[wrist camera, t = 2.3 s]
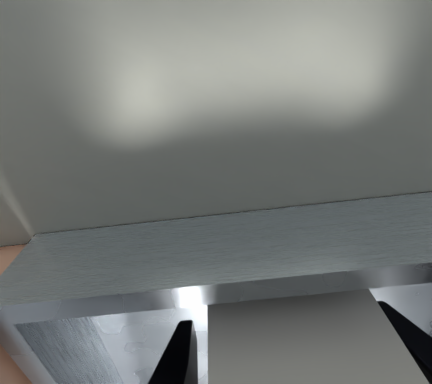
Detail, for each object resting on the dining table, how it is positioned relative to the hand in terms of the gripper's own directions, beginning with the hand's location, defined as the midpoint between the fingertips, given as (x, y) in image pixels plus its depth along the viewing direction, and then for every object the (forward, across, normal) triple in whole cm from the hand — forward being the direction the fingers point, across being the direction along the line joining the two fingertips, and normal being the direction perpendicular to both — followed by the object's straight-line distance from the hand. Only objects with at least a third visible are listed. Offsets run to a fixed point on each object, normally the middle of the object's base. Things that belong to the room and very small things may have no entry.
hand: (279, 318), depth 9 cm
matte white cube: (+1, 0, 0) cm, 1 cm away
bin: (+1, 0, +3) cm, 4 cm away
